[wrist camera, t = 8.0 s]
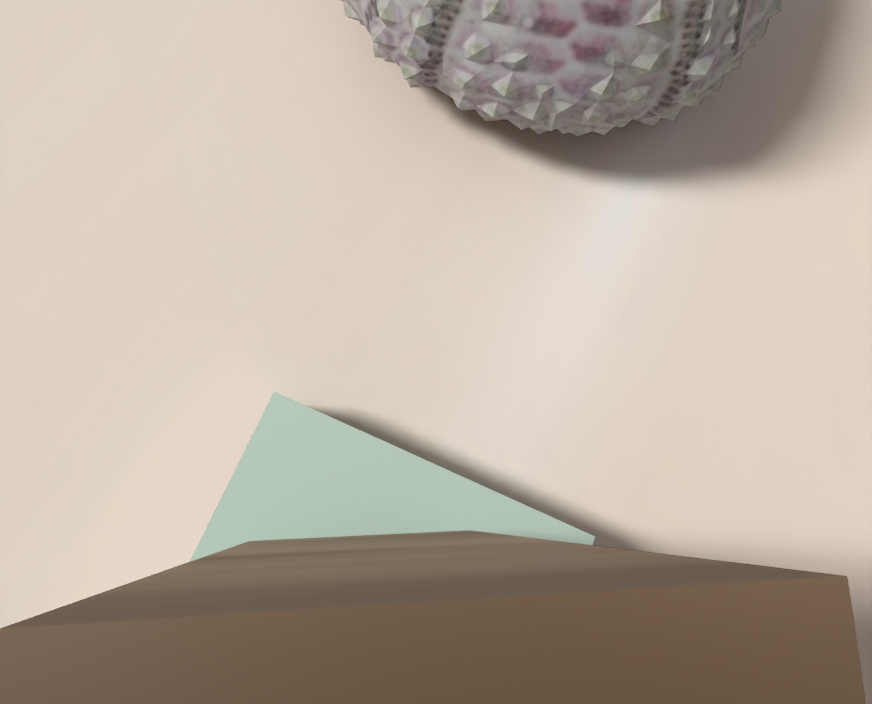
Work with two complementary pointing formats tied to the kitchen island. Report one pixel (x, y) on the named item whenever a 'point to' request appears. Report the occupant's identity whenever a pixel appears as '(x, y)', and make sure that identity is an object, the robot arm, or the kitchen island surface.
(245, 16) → the kitchen island surface
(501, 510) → the green plinth
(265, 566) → the walnut block
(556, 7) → the sea urchin shell
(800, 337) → the kitchen island surface
